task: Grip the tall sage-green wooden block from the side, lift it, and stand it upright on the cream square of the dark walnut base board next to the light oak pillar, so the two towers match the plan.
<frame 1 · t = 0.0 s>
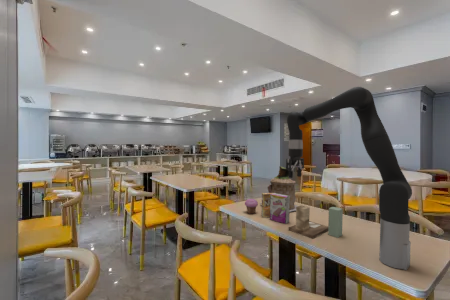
hand: (295, 177, 121), 29 cm above the table, tool pointing down, fingers open, 8 cm apart
base board: (309, 229, 120), on the table
cupcake: (251, 213, 149), on the table
green block: (335, 234, 114), on the table
candy bar box: (279, 221, 134), on the table
candy box: (268, 216, 143), on the table
cookie jar: (281, 208, 163), on the table
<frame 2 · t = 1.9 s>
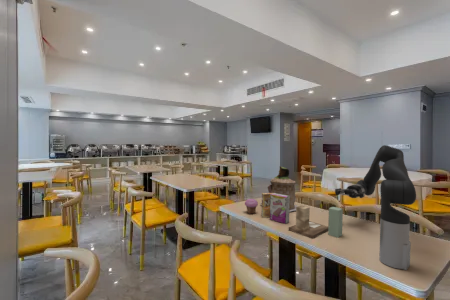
hand: (344, 194, 120), 20 cm above the table, tool horizontal, fingers open, 8 cm apart
nothing on the table moved.
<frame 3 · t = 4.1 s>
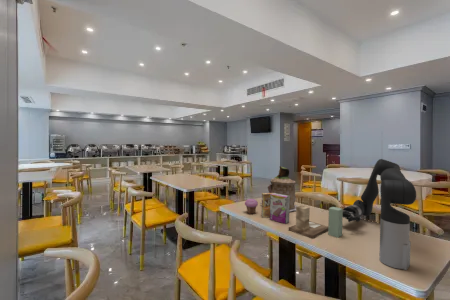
hand: (340, 217, 117), 8 cm above the table, tool horizontal, fingers open, 8 cm apart
nothing on the table moved.
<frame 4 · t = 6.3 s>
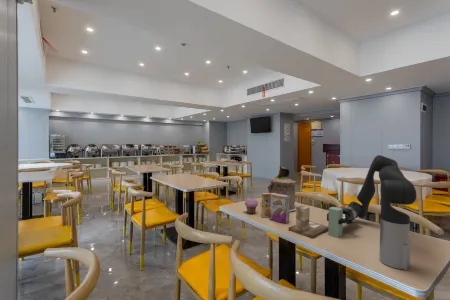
hand: (333, 220, 112), 8 cm above the table, tool horizontal, fingers closed on green block, 5 cm apart
green block: (335, 234, 114), on the table, touching gripper
everything else where it was.
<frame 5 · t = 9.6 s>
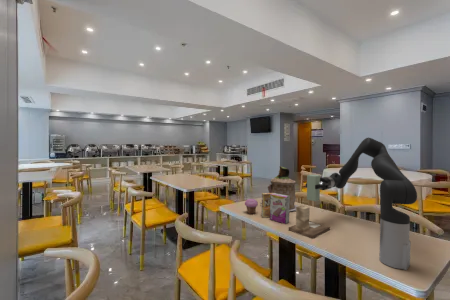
hand: (311, 186, 122), 24 cm above the table, tool horizontal, fingers closed on green block, 5 cm apart
green block: (313, 199, 123), point 16 cm above the table, touching gripper
everything else where it was.
when the fingers open (11 cm above the table, at t = 13.3 s): green block stays where it is, resting on base board.
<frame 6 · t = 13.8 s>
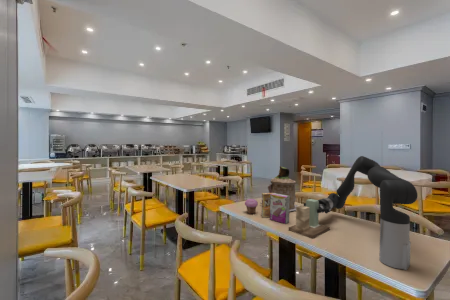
hand: (310, 209, 122), 11 cm above the table, tool horizontal, fingers open, 8 cm apart
green block: (311, 224, 124), point 2 cm above the table, touching base board
everything else where it was.
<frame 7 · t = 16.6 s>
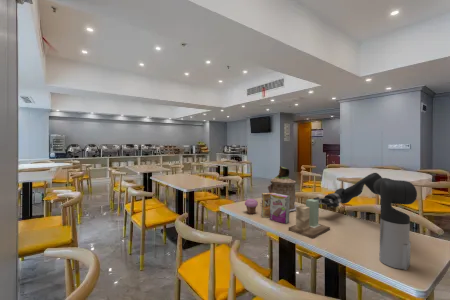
hand: (320, 204, 131), 12 cm above the table, tool horizontal, fingers open, 8 cm apart
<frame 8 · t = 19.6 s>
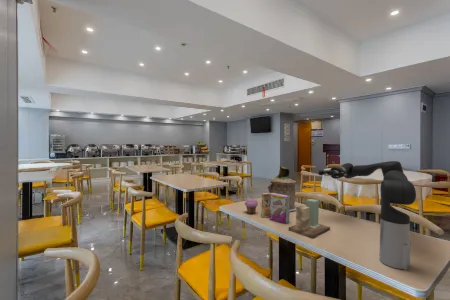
hand: (326, 174, 129), 30 cm above the table, tool horizontal, fingers open, 8 cm apart
at the end: green block 0.1 cm from the target spot on the base board, point 1.7 cm above the base board's base; green block tilted 0°; the gripper is holding nothing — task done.
